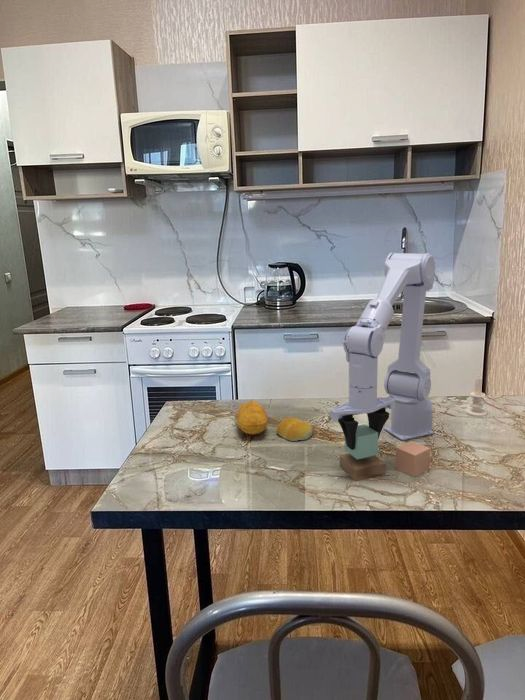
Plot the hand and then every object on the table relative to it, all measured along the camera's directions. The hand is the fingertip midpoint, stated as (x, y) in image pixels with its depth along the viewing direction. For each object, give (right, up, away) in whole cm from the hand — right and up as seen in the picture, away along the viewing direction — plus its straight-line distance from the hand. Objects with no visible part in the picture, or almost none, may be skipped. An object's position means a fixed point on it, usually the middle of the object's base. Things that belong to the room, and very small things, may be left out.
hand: (362, 445), depth 111 cm
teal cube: (0, -2, +1) cm, 2 cm away
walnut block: (0, -6, +2) cm, 6 cm away
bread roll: (-13, -1, +21) cm, 25 cm away
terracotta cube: (+11, -5, +1) cm, 12 cm away
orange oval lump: (-24, -1, +24) cm, 34 cm away
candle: (+36, +3, +29) cm, 47 cm away
